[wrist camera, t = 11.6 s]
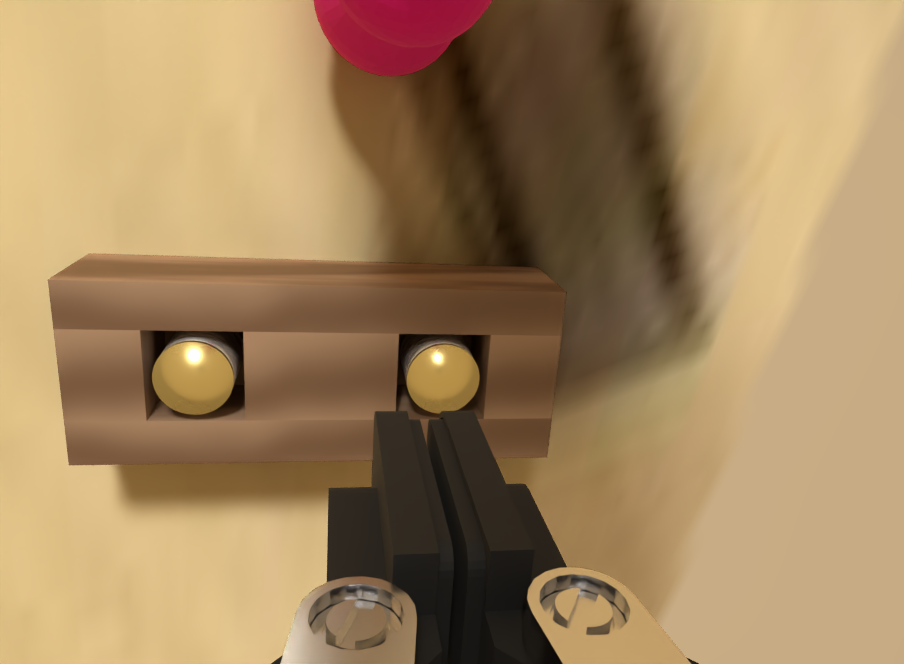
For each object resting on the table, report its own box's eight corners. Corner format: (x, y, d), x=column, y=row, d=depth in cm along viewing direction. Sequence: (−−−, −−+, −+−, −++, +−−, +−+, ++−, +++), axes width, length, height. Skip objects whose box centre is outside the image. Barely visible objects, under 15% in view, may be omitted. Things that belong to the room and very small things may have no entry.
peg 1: (169, 315, 39) (149, 342, 35) (243, 317, 40) (232, 342, 36) (173, 382, 41) (154, 414, 36) (245, 382, 41) (234, 414, 37)
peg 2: (401, 319, 42) (408, 344, 37) (467, 320, 42) (482, 345, 38) (398, 382, 43) (405, 413, 39) (463, 382, 43) (476, 413, 39)
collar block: (88, 253, 39) (47, 279, 34) (537, 267, 44) (566, 292, 38) (104, 416, 42) (69, 465, 37) (521, 414, 47) (547, 457, 41)
